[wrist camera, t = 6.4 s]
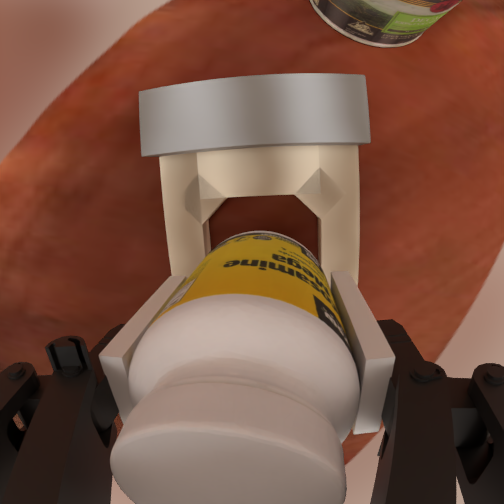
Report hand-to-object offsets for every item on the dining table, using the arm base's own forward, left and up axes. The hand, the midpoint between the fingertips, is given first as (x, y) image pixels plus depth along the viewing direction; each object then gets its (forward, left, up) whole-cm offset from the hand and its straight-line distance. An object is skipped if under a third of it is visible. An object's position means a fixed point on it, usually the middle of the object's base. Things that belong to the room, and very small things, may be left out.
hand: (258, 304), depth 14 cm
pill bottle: (0, 0, -2) cm, 2 cm away
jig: (0, +2, -10) cm, 10 cm away
